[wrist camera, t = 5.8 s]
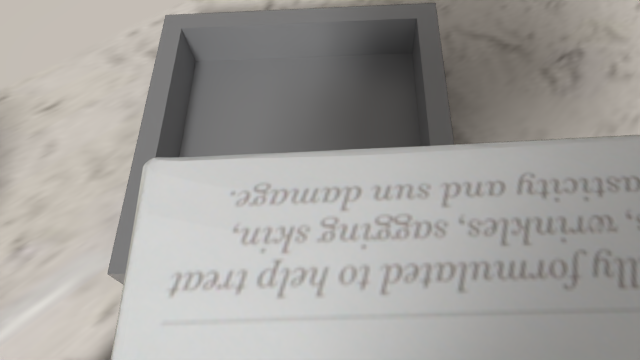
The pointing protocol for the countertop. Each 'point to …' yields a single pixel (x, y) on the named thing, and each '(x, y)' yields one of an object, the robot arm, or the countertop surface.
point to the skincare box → (388, 254)
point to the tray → (290, 88)
